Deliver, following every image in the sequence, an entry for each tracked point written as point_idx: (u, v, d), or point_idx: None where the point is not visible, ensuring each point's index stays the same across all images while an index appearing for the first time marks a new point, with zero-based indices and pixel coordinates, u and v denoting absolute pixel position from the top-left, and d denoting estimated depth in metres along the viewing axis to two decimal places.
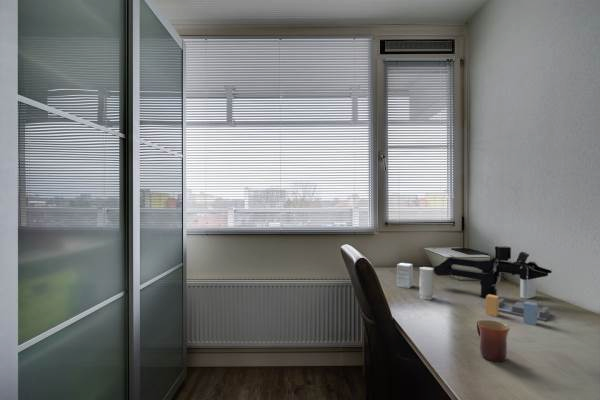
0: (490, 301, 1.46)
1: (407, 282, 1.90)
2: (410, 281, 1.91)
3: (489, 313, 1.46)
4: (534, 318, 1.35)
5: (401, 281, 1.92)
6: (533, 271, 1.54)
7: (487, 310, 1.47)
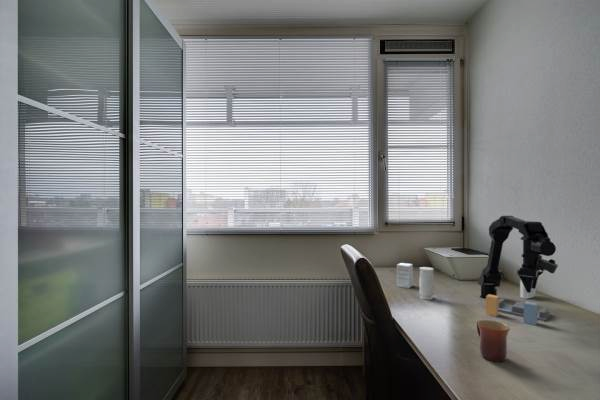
0: (490, 301, 1.46)
1: (407, 282, 1.90)
2: (410, 281, 1.91)
3: (489, 313, 1.46)
4: (534, 318, 1.35)
5: (401, 281, 1.92)
6: (530, 280, 1.32)
7: (487, 310, 1.47)
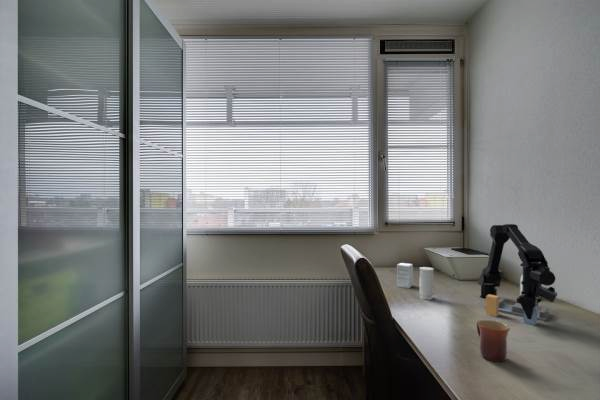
0: (490, 301, 1.46)
1: (407, 282, 1.90)
2: (410, 281, 1.91)
3: (489, 313, 1.46)
4: (534, 318, 1.35)
5: (401, 281, 1.92)
6: (531, 307, 1.34)
7: (487, 310, 1.47)
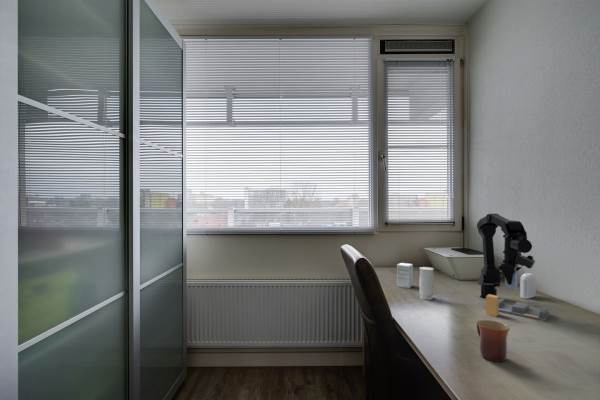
0: (490, 301, 1.46)
1: (407, 282, 1.90)
2: (410, 281, 1.91)
3: (489, 313, 1.46)
4: (514, 283, 1.48)
5: (401, 281, 1.92)
6: (511, 273, 1.48)
7: (487, 310, 1.47)
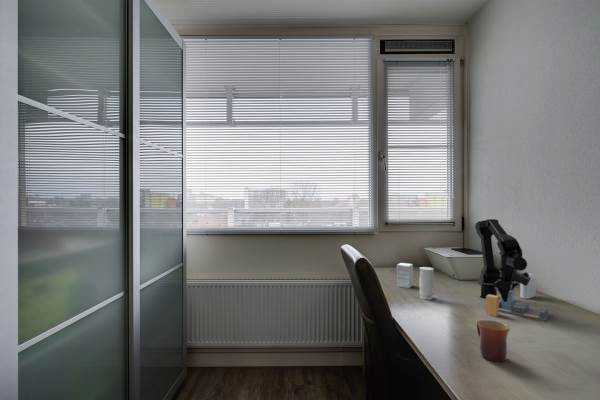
0: (490, 301, 1.46)
1: (407, 282, 1.90)
2: (410, 281, 1.91)
3: (489, 313, 1.46)
4: (510, 303, 1.51)
5: (401, 281, 1.92)
6: (506, 291, 1.49)
7: (487, 310, 1.47)
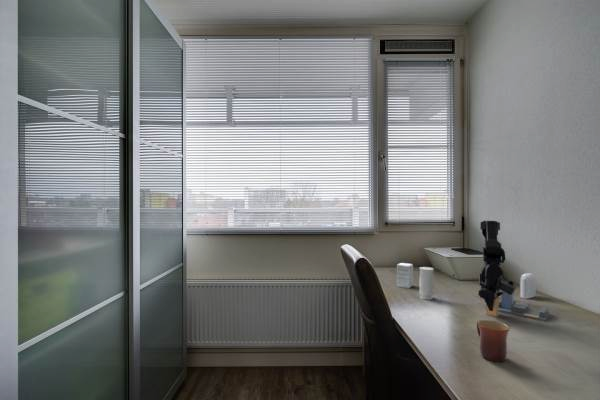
0: None
1: (407, 282, 1.90)
2: (410, 281, 1.91)
3: (489, 313, 1.46)
4: (510, 303, 1.51)
5: (401, 281, 1.92)
6: (492, 299, 1.44)
7: (487, 310, 1.47)
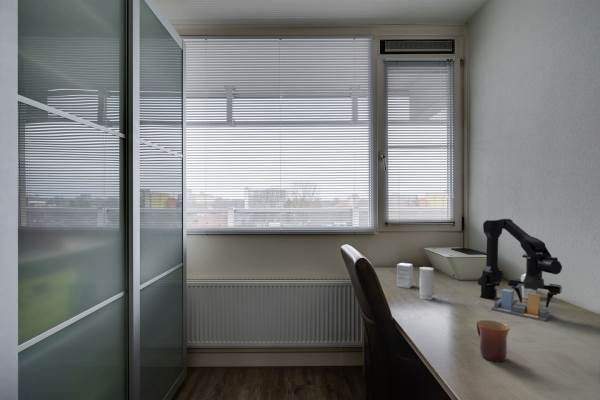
0: None
1: (407, 282, 1.90)
2: (410, 281, 1.91)
3: None
4: (510, 303, 1.51)
5: (401, 281, 1.92)
6: None
7: None
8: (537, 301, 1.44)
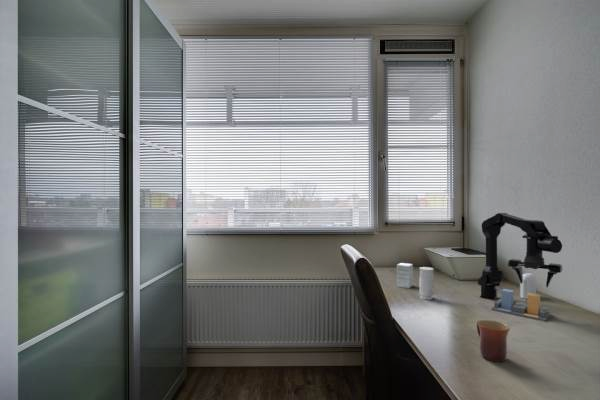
0: None
1: (407, 282, 1.90)
2: (410, 281, 1.91)
3: None
4: (510, 303, 1.51)
5: (401, 281, 1.92)
6: None
7: None
8: (537, 301, 1.44)
